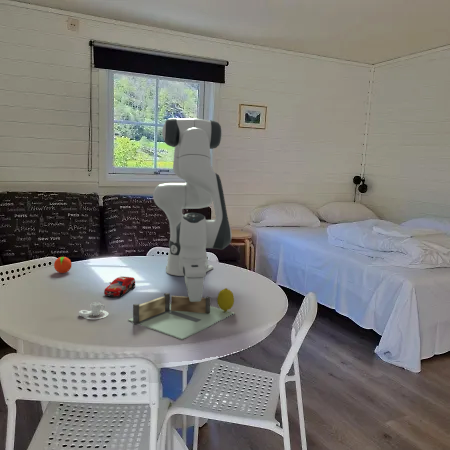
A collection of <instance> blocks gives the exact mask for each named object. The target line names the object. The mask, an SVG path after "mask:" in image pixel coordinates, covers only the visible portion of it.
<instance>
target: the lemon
mask: <svg viewBox="0 0 450 450" xmlns="http://www.w3.org/2000/svg"><path fill="white" fill-rule="evenodd" d="M216 299H217V300H216V301H217V306H218V308H219V309H222V310H224V311H225V312H226V311H229V310H231V308H233V307H234V303H235V297H234V293H233V292H232V291H231V290H230V289H229V288H227V287H225V288H224V289H221V290H220V291H219V292H218V294H217V298H216Z"/></svg>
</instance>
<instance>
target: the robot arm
mask: <svg viewBox="0 0 450 450" xmlns="http://www.w3.org/2000/svg"><path fill="white" fill-rule="evenodd" d="M161 130H162V134H161V135H162V138H163V140H164V142H163V143H165V144H166V145H167V146H168V147H172V148H174V151H173V165H172V170H173V173H174V174H175V176H177V177H178V178H179V179H181V180H183V181H185V182H165V183H160V184H158V185H157V186H155V188H154V190H153V193H152V198H153V202H154V204H155V205H156V206H157V207H158V208H159V209H160V210H162V211H163V212H164V214H165V215H166V217H167V219H168V223H169V233H170V235H169V237H170V238H169V241H168V249H169V251H168V256H167V263H166V265H165V273H167V274H168V275H172V276H175V277H177V276H179V277H184V282H185V283H184V284H185V289H186V291H187V295H188V296H187V297H189V300H190V301H191V302H198V301H201V299H202V298H203V293H204V292H203V290H204V281H205V280H204V279H205V277H206V275H207V274H206V273H207V272H210V270H213V269H214V265H212V264H209V259H208V256H207V255H208V254H207V250H206V249H212V250H213V249H216V250H224V249H225V248H226V247H228V246H229V245H230V244H231V242H232V236H233V234H232V228H231V225H230V222H229V218H228V212H227V211H228V210H227V205H226V201H225V195H224V189H223V184H222V180H221V177H220V175H219V174H217V172H215V171H214V169H213V167H212V162H211V161H212V160H211V150H212V149H216V148H218V147H219V146H220V144H221V141H222V139H223V130H222V126H221V124H220V123H219V122H218V121H215V120H213V119H210V120H208V119H202V118H195V117H193V118H191V117H190V118H186V117H183V118H177V117H170V118H167V119H166V120H165V121H164V124H163V126H162V129H161ZM212 203H213V209H214V216H215V218H214V219H206V216H205V215H203V214H202V213H197V212H189V213H185V214H183V210H184V209H185V210H186V209H187V210H189V209H190V210H191V209H192V210H193V209H203V208H208V207H210V206H211V204H212Z"/></svg>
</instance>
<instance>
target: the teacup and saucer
mask: <svg viewBox="0 0 450 450" xmlns="http://www.w3.org/2000/svg"><path fill="white" fill-rule="evenodd" d="M102 306H103V308H102ZM101 308H102V309H101ZM102 313H103V314H104V315H102V316H101V317H97V316H99V315H100V314H102ZM78 315H79V316H80V317H82V318H84V319H86V320H101V319H104V318H106V317H108V316H109V312H108V311H106V310H105V304H102V303H101V302H99V301H93V302H91V303H90V310H86V309H82V310H79V311H78ZM91 315H92V316H93V317H90V316H91Z"/></svg>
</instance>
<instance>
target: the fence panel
mask: <svg viewBox="0 0 450 450" xmlns="http://www.w3.org/2000/svg"><path fill="white" fill-rule="evenodd" d="M170 303H171V311H183V312H197V313H207V314H209V313H210V306H211V296H205V297H202V299H201V301H198V302H191V301H190V300H189V296H183V295H170Z"/></svg>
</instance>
